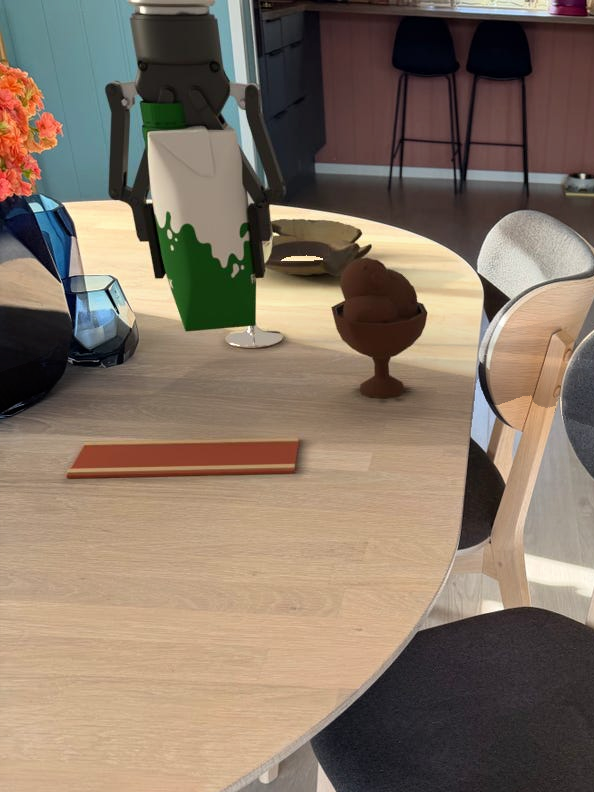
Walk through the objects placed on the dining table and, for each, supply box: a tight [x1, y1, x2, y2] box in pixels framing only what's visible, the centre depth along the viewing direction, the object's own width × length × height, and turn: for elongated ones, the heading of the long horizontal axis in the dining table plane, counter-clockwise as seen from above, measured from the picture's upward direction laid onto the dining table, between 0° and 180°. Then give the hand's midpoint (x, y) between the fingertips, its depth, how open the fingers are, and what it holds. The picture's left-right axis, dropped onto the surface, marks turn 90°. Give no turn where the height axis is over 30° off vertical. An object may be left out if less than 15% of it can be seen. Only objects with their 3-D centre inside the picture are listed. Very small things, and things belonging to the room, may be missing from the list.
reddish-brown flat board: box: [66, 437, 300, 479], centre depth 95 cm, size 22×8×1 cm, turn 95°
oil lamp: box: [265, 218, 373, 277], centre depth 150 cm, size 22×30×8 cm
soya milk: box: [139, 99, 257, 333], centre depth 92 cm, size 9×9×20 cm
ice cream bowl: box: [330, 257, 428, 399], centre depth 107 cm, size 11×11×15 cm
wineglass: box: [224, 192, 284, 349], centre depth 119 cm, size 8×8×20 cm
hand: (211, 274), depth 95 cm, fingers closed on soya milk, 9 cm apart
